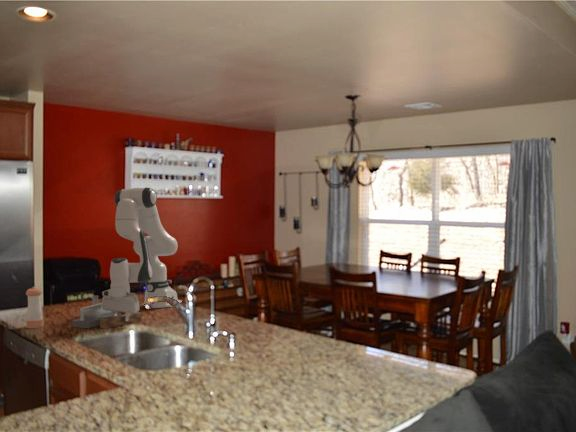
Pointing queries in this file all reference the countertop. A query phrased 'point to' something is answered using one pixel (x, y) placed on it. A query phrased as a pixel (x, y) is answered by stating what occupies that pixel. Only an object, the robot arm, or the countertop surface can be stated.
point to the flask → (95, 300)
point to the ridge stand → (92, 316)
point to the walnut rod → (119, 320)
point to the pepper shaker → (34, 308)
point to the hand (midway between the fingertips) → (121, 320)
